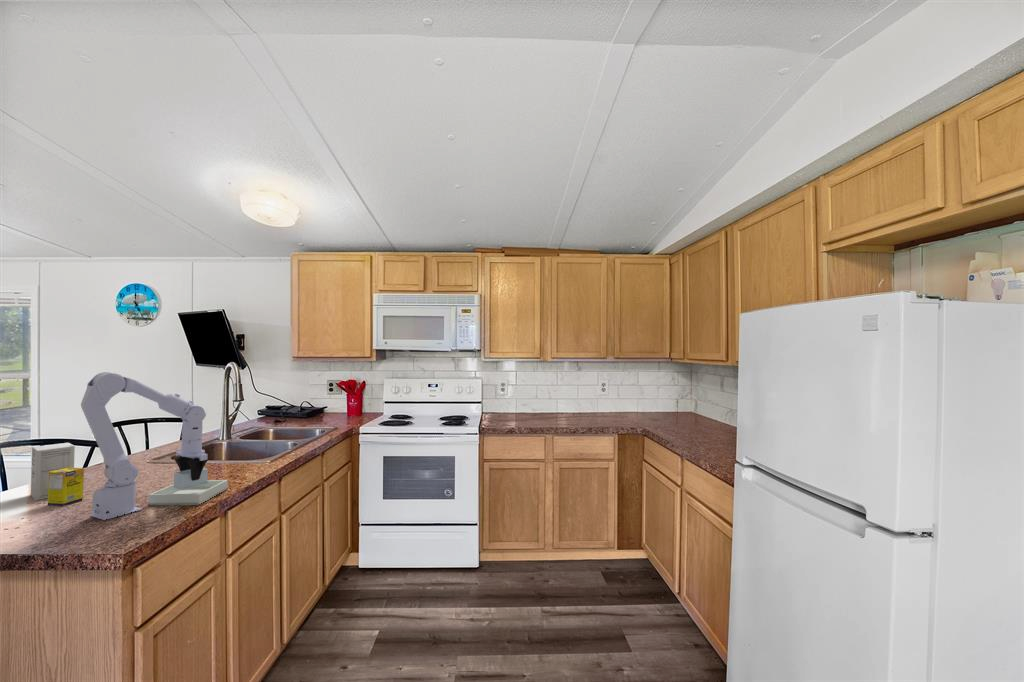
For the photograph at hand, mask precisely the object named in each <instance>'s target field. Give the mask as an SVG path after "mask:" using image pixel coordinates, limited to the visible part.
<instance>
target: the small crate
mask: <svg viewBox="0 0 1024 682" xmlns="http://www.w3.org/2000/svg"><path fill="white" fill-rule="evenodd" d="M208 474H209V469H208V468H205V467H203V470H202V472H201V476H200V479H198V480H194V481H192V479H191V470H190V469H189V470H184V471H180V470H179V471H177V472H173V484H174V488H178V489H182V490H183V489H187V488H191V487H194V486H198V485H202V484H206V483H207V481H208V480H209V479H208V476H209V475H208Z"/></svg>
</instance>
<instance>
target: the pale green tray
mask: <svg viewBox="0 0 1024 682" xmlns="http://www.w3.org/2000/svg"><path fill="white" fill-rule="evenodd" d="M228 485H229V482H228V479H208V481H207V483H206V484H202V485H198V486H194V487H191V488H187V489H183V490H182V489H178V488H174V483H173V484H170V485H168V486H165V487H164V488H161V489H159V490H156V491H154V492H152V493H149V494H148V496H147V497H148V498H147V506H148V505H155V506H200V505H202V504H204V503H205V501H206V502H208V501H209V500H211V499H213V498H215V497H217V496H218V495H220V494H222V493H224V492H225V490H226V491H227V489H228ZM223 491H224V492H223ZM221 492H222V493H221ZM219 493H220V494H219ZM217 494H218V495H217ZM216 495H217V496H216ZM214 496H215V497H214ZM212 497H213V498H212ZM210 498H211V499H210ZM203 502H204V503H203ZM201 503H202V504H201ZM199 504H200V505H199Z"/></svg>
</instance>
